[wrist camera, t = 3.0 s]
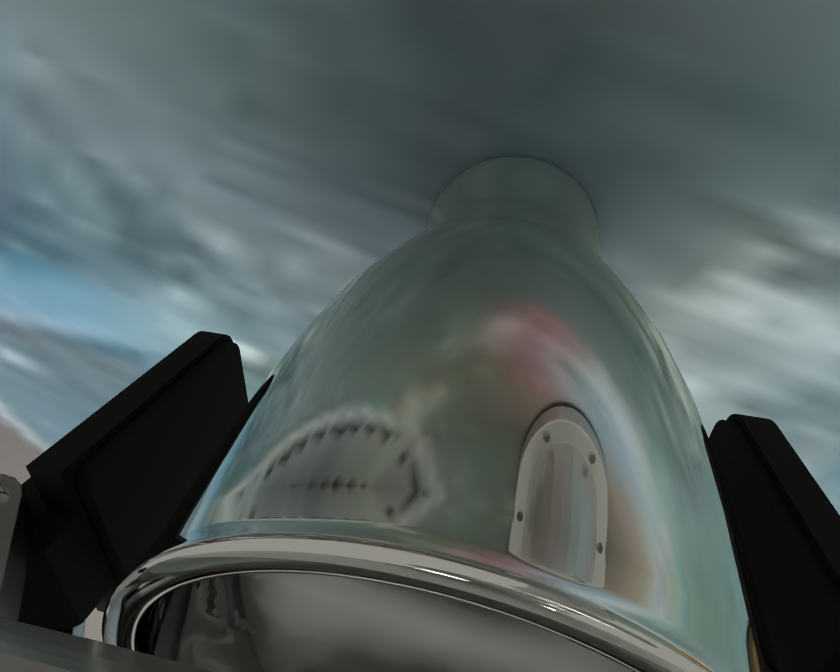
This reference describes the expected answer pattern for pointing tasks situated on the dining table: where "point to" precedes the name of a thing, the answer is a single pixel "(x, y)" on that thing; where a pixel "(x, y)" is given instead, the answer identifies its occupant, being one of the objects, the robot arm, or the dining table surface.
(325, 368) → the beer glass
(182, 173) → the dining table surface
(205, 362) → the robot arm
